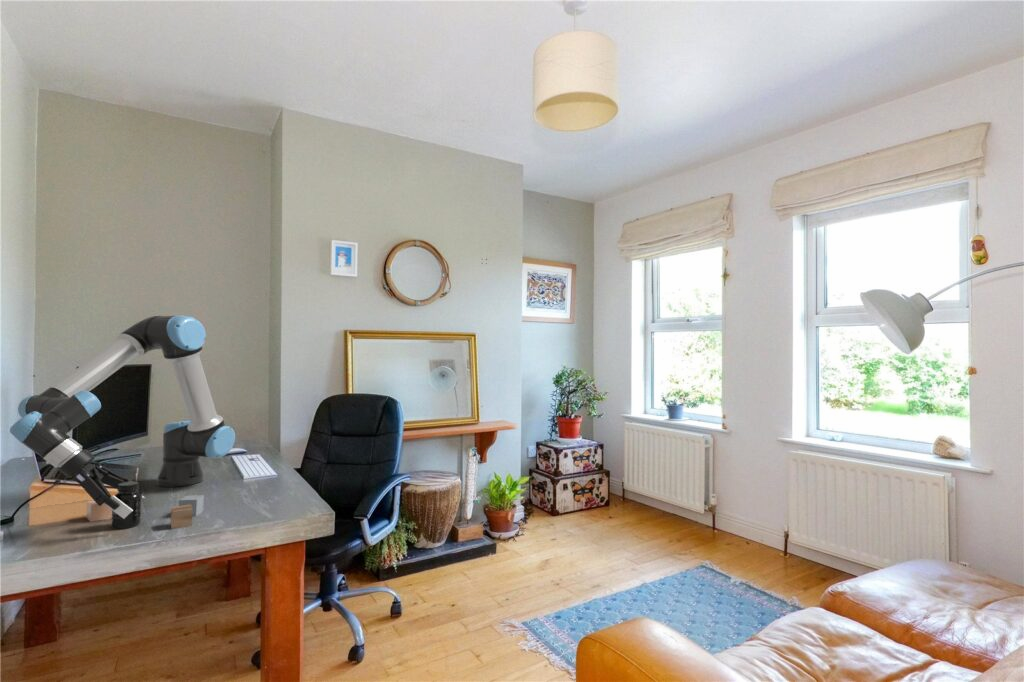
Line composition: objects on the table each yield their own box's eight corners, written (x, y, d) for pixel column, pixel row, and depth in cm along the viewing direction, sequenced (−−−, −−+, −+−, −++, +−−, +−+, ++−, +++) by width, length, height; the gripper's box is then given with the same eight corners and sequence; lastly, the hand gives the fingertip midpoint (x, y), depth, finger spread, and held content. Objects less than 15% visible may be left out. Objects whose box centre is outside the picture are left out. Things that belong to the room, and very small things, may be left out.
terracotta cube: (86, 518, 153) (87, 501, 153) (107, 514, 157) (108, 497, 157) (90, 521, 150) (91, 504, 150) (111, 517, 153) (112, 501, 154)
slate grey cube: (185, 511, 161) (186, 495, 161) (203, 511, 162) (203, 495, 162) (178, 516, 156) (178, 500, 156) (196, 516, 157) (196, 499, 157)
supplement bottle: (106, 530, 143) (108, 487, 143) (118, 522, 149) (119, 481, 150) (135, 528, 145) (136, 485, 145) (145, 521, 151) (146, 479, 151)
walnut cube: (170, 524, 149) (171, 507, 149) (190, 521, 152) (191, 504, 152) (171, 529, 145) (171, 511, 145) (191, 526, 148) (192, 509, 148)
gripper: (74, 459, 152) (134, 505, 158) (38, 479, 129) (110, 532, 135) (97, 440, 154) (155, 486, 160) (66, 456, 132) (135, 509, 138)
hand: (134, 507), depth 148 cm, fingers open, 13 cm apart
